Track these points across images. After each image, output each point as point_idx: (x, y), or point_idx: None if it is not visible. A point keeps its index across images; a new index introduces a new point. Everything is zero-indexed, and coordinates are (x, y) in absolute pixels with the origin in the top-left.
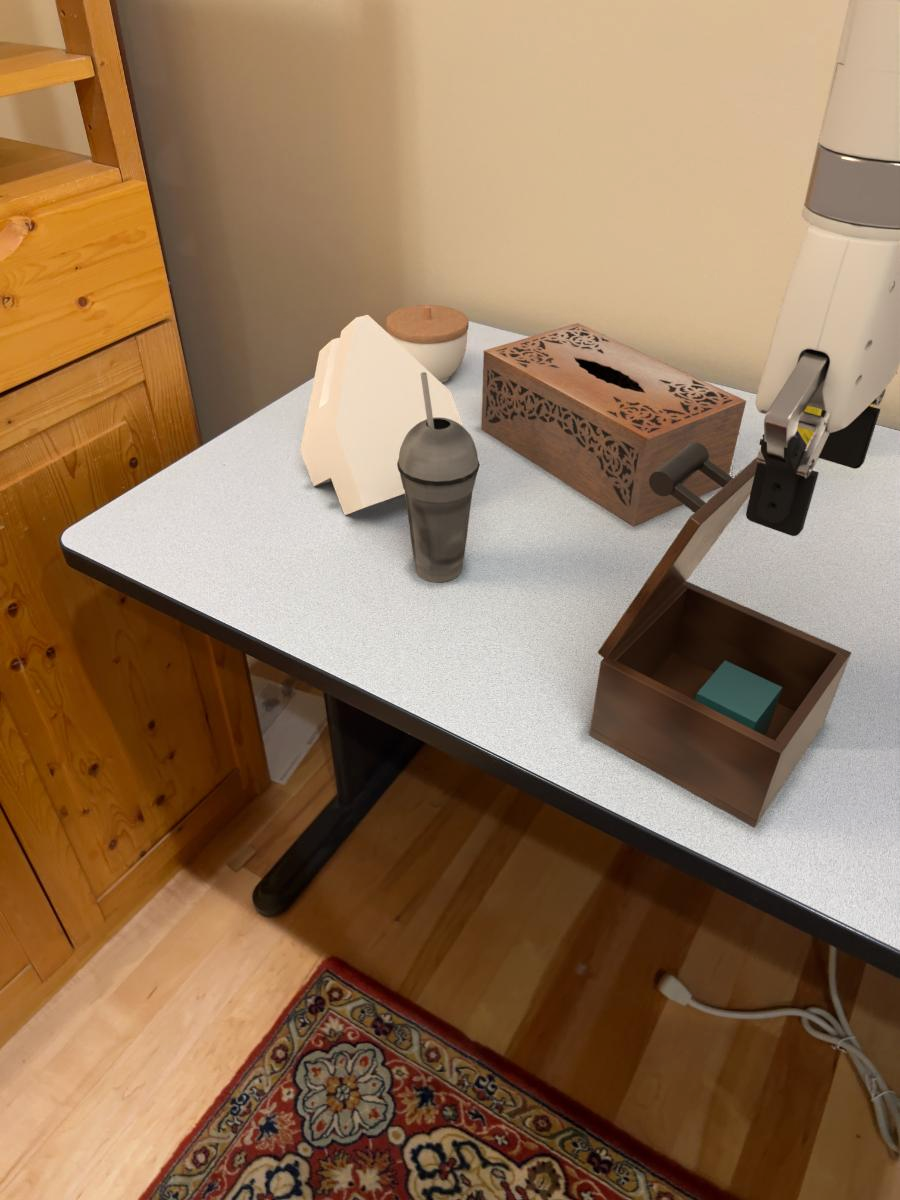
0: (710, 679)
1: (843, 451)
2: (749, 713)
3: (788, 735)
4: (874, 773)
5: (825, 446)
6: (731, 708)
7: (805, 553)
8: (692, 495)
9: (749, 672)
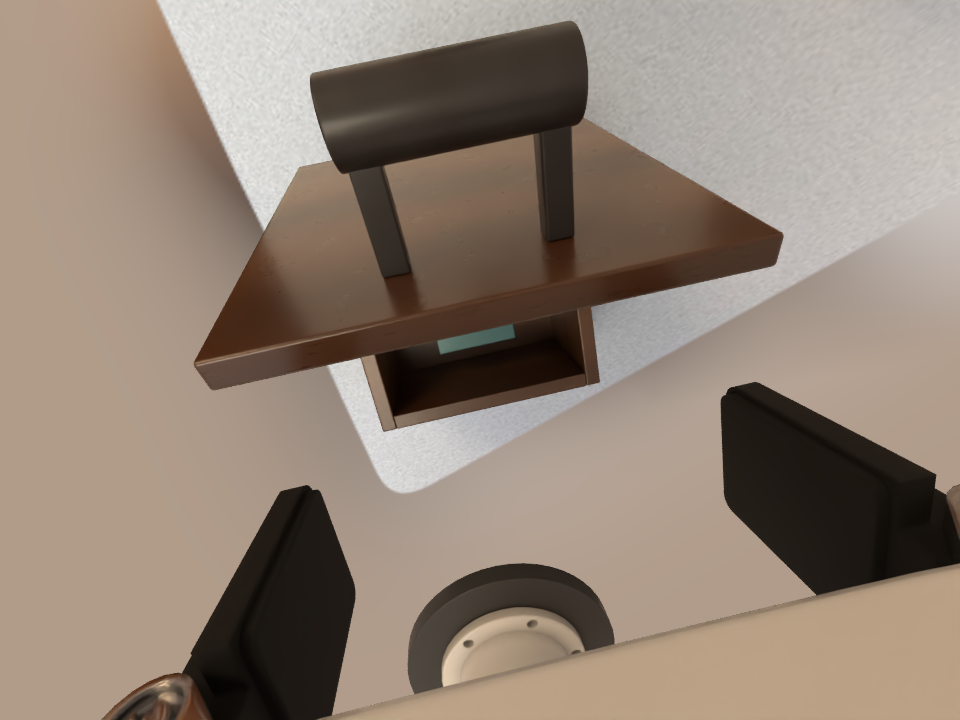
0: None
1: (746, 487)
2: (446, 340)
3: (412, 421)
4: (543, 407)
5: (745, 439)
6: None
7: (857, 130)
8: (385, 223)
9: None
